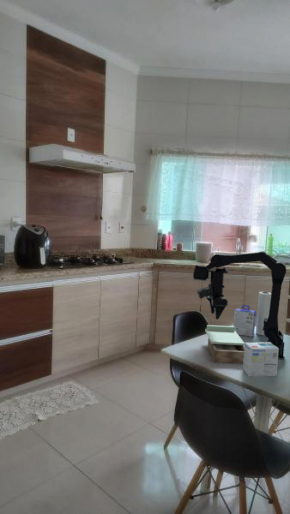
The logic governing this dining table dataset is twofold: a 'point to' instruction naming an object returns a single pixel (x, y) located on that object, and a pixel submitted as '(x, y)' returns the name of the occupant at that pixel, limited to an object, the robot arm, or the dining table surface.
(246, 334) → the ink cartridge box
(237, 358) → the box
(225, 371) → the dining table surface
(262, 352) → the light bulb box
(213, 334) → the lid
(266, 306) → the paper towel roll
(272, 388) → the dining table surface
